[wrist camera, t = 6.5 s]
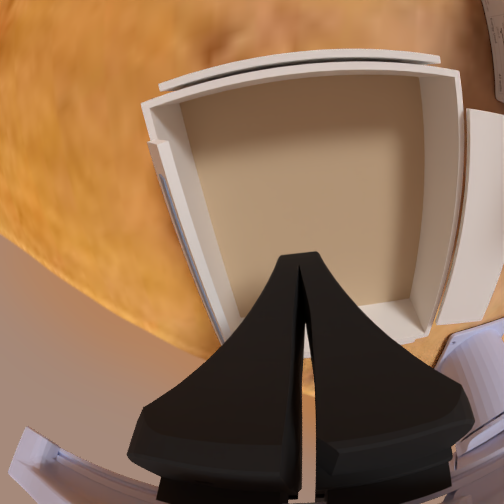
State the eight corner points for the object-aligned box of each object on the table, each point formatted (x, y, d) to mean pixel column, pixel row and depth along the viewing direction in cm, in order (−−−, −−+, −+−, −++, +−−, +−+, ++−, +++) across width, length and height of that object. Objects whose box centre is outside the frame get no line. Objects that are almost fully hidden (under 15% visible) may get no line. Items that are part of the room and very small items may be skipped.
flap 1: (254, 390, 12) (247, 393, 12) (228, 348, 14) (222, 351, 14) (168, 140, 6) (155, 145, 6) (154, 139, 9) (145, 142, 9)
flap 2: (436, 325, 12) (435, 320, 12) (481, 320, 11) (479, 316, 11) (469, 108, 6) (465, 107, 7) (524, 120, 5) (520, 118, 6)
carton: (409, 303, 16) (425, 341, 13) (239, 322, 19) (232, 363, 16) (418, 62, 9) (457, 58, 6) (172, 89, 11) (137, 91, 8)
